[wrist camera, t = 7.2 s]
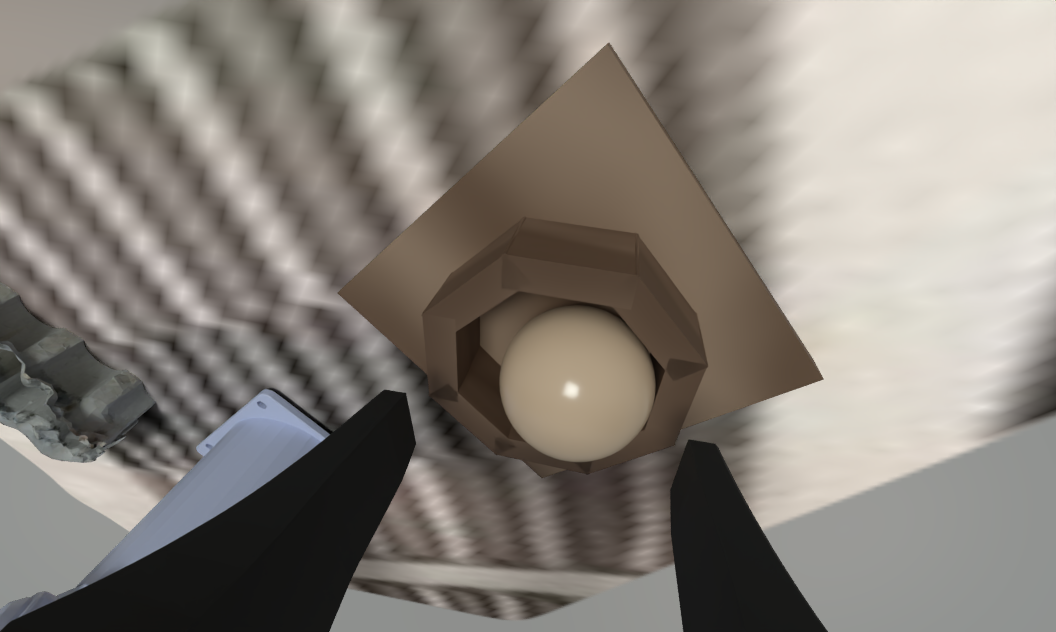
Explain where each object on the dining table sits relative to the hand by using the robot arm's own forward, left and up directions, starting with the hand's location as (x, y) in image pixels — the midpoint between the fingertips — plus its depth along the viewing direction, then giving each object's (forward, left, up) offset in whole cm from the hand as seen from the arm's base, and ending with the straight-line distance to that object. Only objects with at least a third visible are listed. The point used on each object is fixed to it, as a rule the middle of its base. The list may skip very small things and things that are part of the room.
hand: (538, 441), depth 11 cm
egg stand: (0, 0, -6) cm, 6 cm away
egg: (+1, -1, -2) cm, 2 cm away
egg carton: (-26, +13, -6) cm, 30 cm away
